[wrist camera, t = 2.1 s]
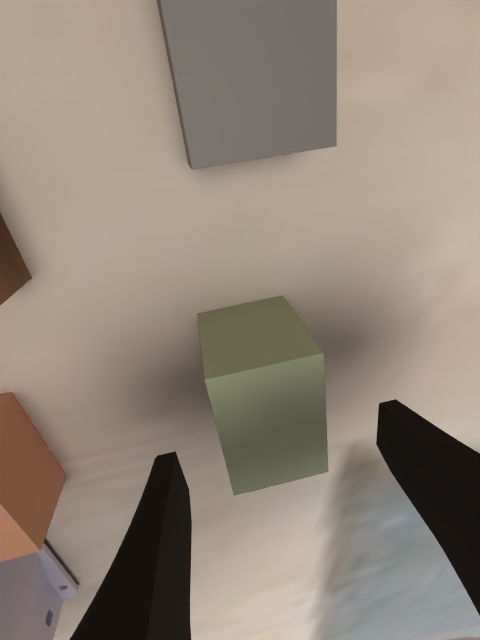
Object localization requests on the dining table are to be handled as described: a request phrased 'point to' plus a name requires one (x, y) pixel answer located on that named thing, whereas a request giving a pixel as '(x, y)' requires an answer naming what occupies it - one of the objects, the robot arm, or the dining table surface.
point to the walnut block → (10, 265)
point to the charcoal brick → (252, 76)
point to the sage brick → (265, 393)
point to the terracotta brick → (25, 482)
